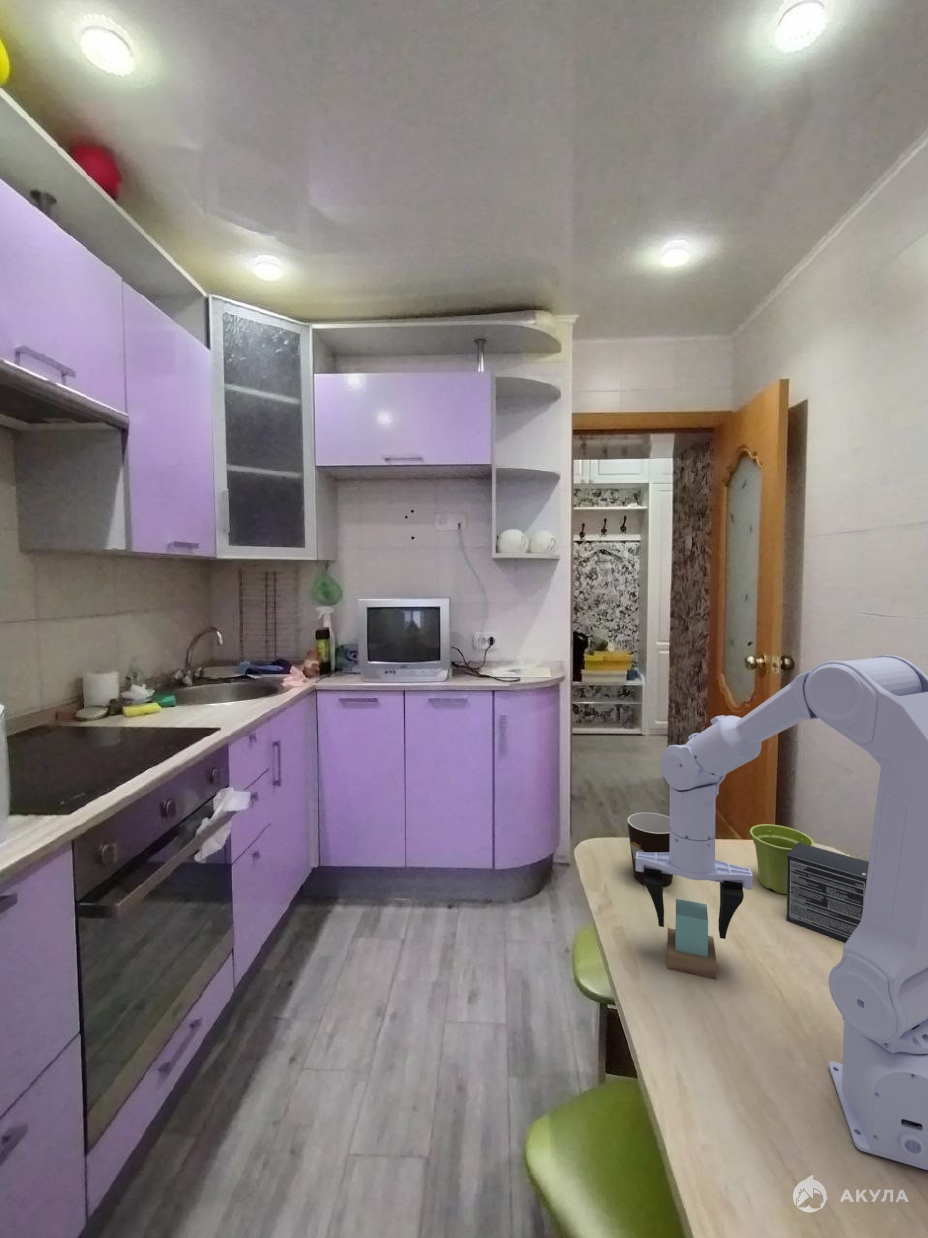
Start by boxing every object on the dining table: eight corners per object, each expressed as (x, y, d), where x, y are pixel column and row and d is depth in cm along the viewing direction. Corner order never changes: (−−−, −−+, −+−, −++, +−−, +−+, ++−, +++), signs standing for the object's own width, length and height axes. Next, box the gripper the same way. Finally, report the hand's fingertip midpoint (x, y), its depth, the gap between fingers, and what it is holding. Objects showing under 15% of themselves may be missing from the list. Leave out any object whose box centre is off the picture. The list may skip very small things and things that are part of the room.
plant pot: (795, 872, 97) (796, 825, 96) (824, 902, 88) (825, 850, 87) (740, 870, 98) (741, 823, 97) (763, 900, 89) (764, 848, 88)
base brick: (716, 979, 71) (716, 964, 71) (667, 968, 73) (667, 954, 73) (713, 950, 76) (713, 936, 76) (667, 941, 79) (667, 928, 78)
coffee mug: (621, 865, 100) (622, 812, 100) (669, 865, 100) (669, 812, 99) (639, 901, 89) (640, 842, 88) (693, 902, 88) (694, 842, 88)
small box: (878, 931, 80) (880, 862, 80) (870, 953, 76) (872, 879, 75) (796, 903, 88) (797, 839, 87) (784, 920, 83) (785, 854, 82)
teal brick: (707, 957, 72) (708, 920, 72) (675, 950, 74) (675, 914, 73) (706, 939, 76) (706, 904, 76) (675, 932, 77) (675, 898, 77)
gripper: (747, 826, 75) (746, 922, 76) (637, 812, 80) (637, 902, 81) (755, 850, 68) (753, 954, 69) (634, 833, 73) (634, 930, 74)
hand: (691, 928), depth 74 cm, fingers open, 7 cm apart
